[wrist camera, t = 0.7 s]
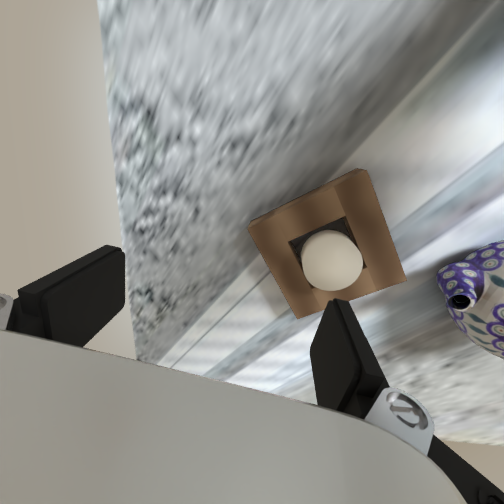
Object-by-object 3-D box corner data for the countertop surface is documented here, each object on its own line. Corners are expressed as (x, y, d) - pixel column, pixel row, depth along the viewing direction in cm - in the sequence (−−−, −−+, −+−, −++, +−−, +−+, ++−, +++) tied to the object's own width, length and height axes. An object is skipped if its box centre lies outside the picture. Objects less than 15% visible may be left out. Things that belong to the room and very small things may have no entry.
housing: (357, 168, 32) (366, 170, 28) (394, 267, 36) (406, 280, 33) (250, 221, 36) (247, 229, 32) (295, 304, 41) (297, 319, 37)
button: (343, 220, 31) (350, 228, 27) (362, 266, 32) (371, 278, 29) (292, 243, 32) (293, 253, 29) (313, 285, 34) (316, 298, 31)
